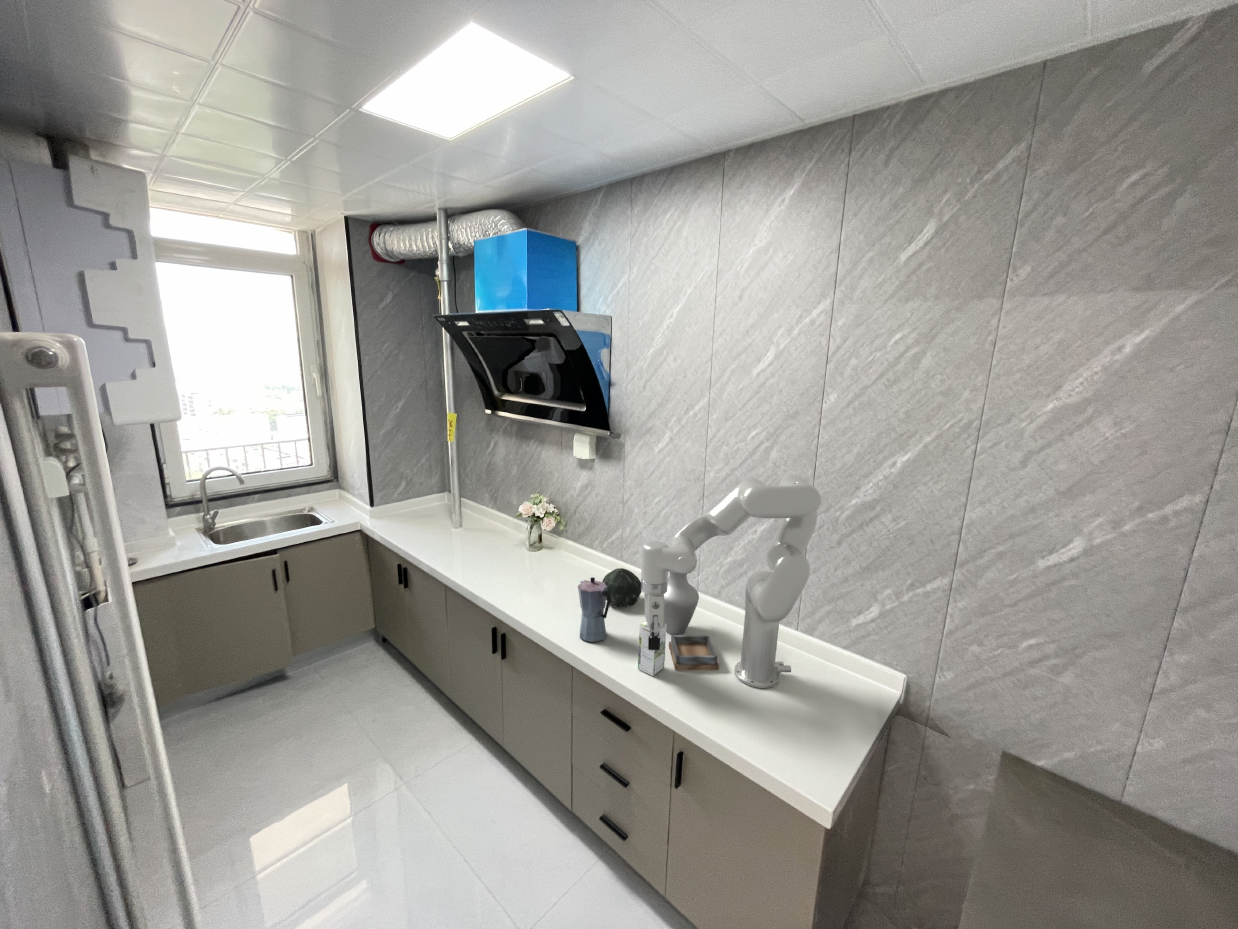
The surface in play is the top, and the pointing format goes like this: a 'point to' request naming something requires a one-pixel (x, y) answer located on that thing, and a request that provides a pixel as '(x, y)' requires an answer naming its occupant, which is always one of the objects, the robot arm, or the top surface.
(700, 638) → the dock
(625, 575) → the squash
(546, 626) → the top surface
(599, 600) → the moka pot
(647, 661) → the syrup box
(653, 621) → the robot arm
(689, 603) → the vase
